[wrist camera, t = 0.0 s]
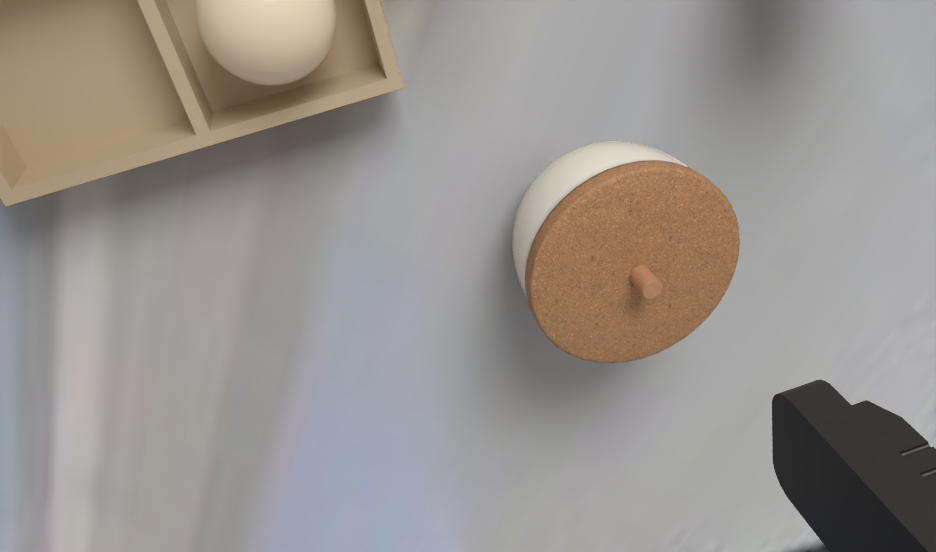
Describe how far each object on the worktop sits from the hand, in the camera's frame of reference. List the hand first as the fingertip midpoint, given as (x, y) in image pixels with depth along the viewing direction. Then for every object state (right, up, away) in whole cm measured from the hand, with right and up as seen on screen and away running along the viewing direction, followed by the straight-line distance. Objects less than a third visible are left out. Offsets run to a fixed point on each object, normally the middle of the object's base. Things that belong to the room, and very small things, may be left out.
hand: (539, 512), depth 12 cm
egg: (-10, +16, +22) cm, 29 cm away
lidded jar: (+5, +8, +32) cm, 33 cm away
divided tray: (-14, +15, +22) cm, 30 cm away
